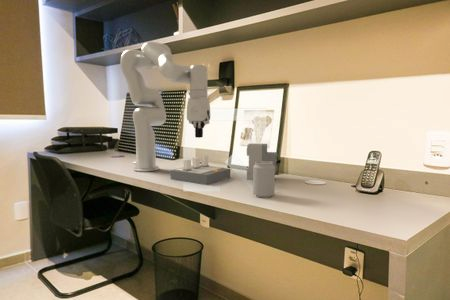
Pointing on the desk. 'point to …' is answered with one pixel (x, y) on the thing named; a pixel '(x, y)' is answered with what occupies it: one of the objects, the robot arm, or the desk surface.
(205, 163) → the handle
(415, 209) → the desk surface
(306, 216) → the desk surface
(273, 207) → the desk surface
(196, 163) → the handle
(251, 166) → the circuit breaker
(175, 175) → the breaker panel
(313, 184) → the desk surface
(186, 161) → the handle
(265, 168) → the can
